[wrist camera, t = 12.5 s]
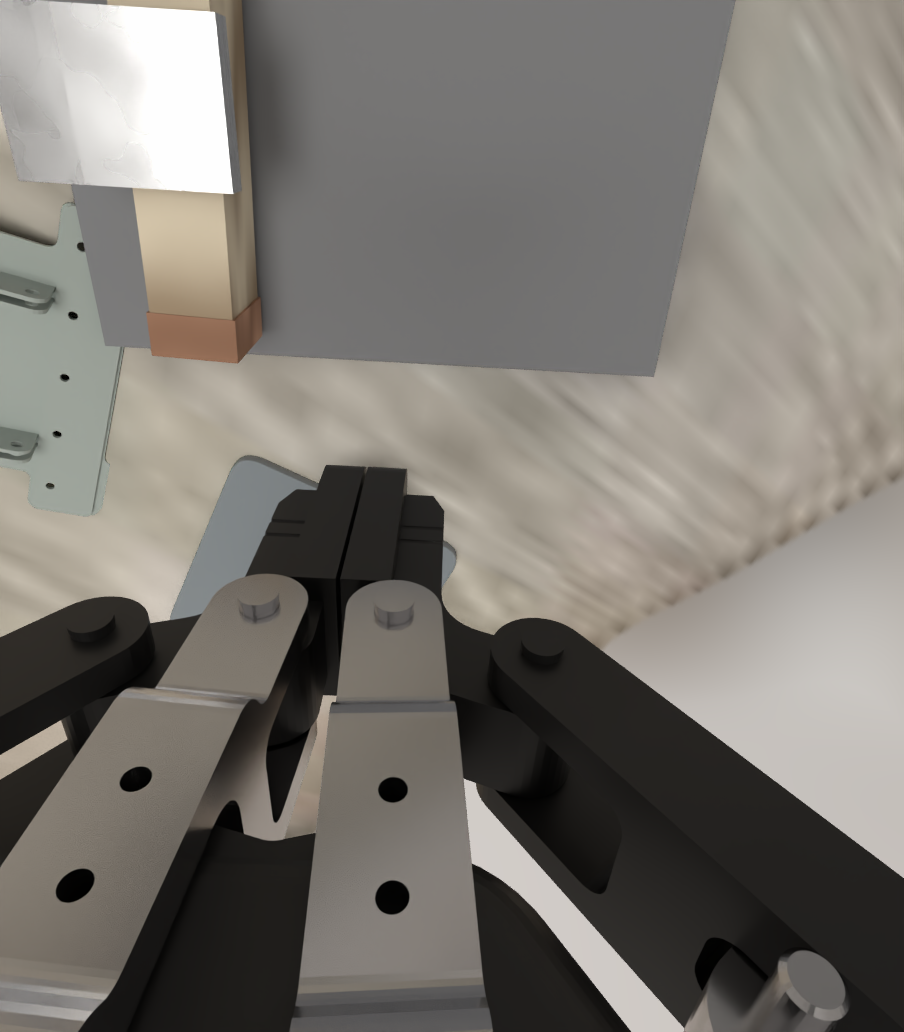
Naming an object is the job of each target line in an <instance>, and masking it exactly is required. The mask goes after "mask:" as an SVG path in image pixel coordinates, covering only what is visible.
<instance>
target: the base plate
mask: <svg viewBox="0 0 904 1032" xmlns="http://www.w3.org/2000/svg"><path fill="white" fill-rule="evenodd" d="M41 1H56V2H70V3H85V4H100V5H108V4H107V0H41ZM734 4H735V0H242V15H243V34H244V53H245V71H246V90H247V108H248V127H249V145H250V164H251V183H252V201H253V220H254V238H255V257H256V276H257V294H258V297H260V299H261V318H262V337H261V338H260V339H259V340H258V341H257V342H256V343H255V345H254V346H253V347H252V348H251V349H250V350H249V351H248V353H247V354H257V355H275V356H293V357H311V358H329V359H346V360H364V361H382V362H400V363H418V364H435V365H453V366H471V367H489V368H506V369H524V370H542V371H560V372H578V373H595V374H613V375H631V376H649V377H654V373H655V369H656V364H657V360H658V355H659V350H660V346H661V341H662V337H663V332H664V327H665V323H666V318H667V313H668V309H669V304H670V300H671V295H672V290H673V286H674V281H675V277H676V272H677V267H678V263H679V258H680V253H681V249H682V244H683V240H684V235H685V230H686V226H687V221H688V217H689V212H690V207H691V203H692V198H693V194H694V189H695V184H696V180H697V175H698V170H699V166H700V161H701V157H702V152H703V147H704V143H705V138H706V134H707V129H708V124H709V120H710V115H711V110H712V106H713V101H714V97H715V92H716V87H717V83H718V78H719V74H720V69H721V64H722V60H723V55H724V51H725V46H726V41H727V37H728V32H729V27H730V23H731V18H732V14H733V9H734ZM71 186H72V191H73V196H74V201H75V205H76V210H77V215H78V219H79V224H80V229H81V234H82V238H83V243H84V248H85V253H86V257H87V262H88V267H89V271H90V276H91V281H92V286H93V290H94V295H95V300H96V305H97V309H98V314H99V319H100V323H101V328H102V333H103V338H104V342H105V346H115V347H133V348H151V344H150V337H149V330H148V323H147V315H146V312H148V311H149V306H148V298H147V291H146V284H145V276H144V269H143V261H142V254H141V247H140V239H139V232H138V225H137V217H136V210H135V203H134V195H133V188H128V187H112V186H96V185H79V184H71Z"/></svg>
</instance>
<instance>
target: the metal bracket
mask: <svg viewBox="0 0 904 1032" xmlns="http://www.w3.org/2000/svg"><path fill="white" fill-rule="evenodd" d="M79 242H83V238H82V234H81V229H80V224H79V219H78V215H77V210H76V205H75V203H70V202H68V203H66V204H64V205H63V207H62V209H61V215H60V223H59V232H58V241H57V243H56V244H55V245H53V246H50V245H45V244H41V243H38V242H35V241H32V240H29V239H25V238H22V237H19V236H16V235H12V234H9V233H6V232H3V231H0V467H4V468H10V469H15V470H21V471H24V472H27V473H28V474H29V476H30V484H29V492H28V502H29V503H30V504H31V505H32V506H33V507H34V508H36V509H41V510H48V511H54V512H60V513H66V514H72V515H78V516H90V515H95V514H96V513H97V512H98V511H99V510H100V509H101V508H102V505H103V499H104V494H105V489H106V483H107V478H108V472H109V467H110V464H109V463H107V461H106V460H105V452H106V446H107V440H108V435H109V429H110V423H111V418H112V412H113V406H114V401H115V395H116V389H117V384H118V378H119V372H120V367H121V361H122V355H123V350H124V347H115V346H105V342H104V338H103V333H102V328H101V323H100V319H99V314H98V309H97V305H96V300H95V295H94V290H93V286H92V281H91V276H90V271H89V267H88V262H87V257H86V253H85V251H82V250H80V249H79V248H78V243H79ZM71 311H73V312H75V313H77V315H78V318H76V319H73V318H71V317H70V316H69V312H71ZM62 374H66V375H68V376H69V380H64V379H62V378H61V375H62ZM54 431H59V432H60V433H61V434H62V435H61V436H56V435H54V433H53V432H54ZM47 483H52V484H54V487H48V486H47Z"/></svg>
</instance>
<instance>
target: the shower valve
mask: <svg viewBox="0 0 904 1032" xmlns="http://www.w3.org/2000/svg"><path fill="white" fill-rule="evenodd" d="M318 485H319V484H318V483H316V482H314V481H311V480H309V479H307V478H305V477H303V476H300V475H298V474H296V473H294V472H292V471H289V470H287V469H285V468H283V467H281V466H279V465H276V464H274V463H272V462H270V461H268V460H265V459H263V458H260V457H257V456H244V457H242V458H240V459H239V460H238V461H237V462H236V463H235V464H234V466H233V467H232V469H231V471H230V473H229V475H228V478H227V480H226V483H225V485H224V487H223V490H222V492H221V495H220V497H219V499H218V502H217V504H216V507H215V509H214V512H213V514H212V516H211V519H210V521H209V524H208V526H207V528H206V531H205V533H204V536H203V538H202V540H201V543H200V545H199V548H198V550H197V552H196V555H195V557H194V560H193V562H192V564H191V567H190V569H189V572H188V574H187V577H186V579H185V581H184V584H183V586H182V589H181V591H180V593H179V596H178V598H177V601H176V603H175V605H174V608H173V610H172V613H171V616H170V620H174V619H180V618H186V617H191V616H195V615H199V614H202V613H203V611H204V610H205V608H206V607H207V605H208V603H209V602H210V600H211V599H212V597H213V596H214V595H215V593H216V592H217V591H218V590H219V589H221V588H222V587H223V586H225V585H226V584H228V583H230V582H232V581H234V580H237V579H239V578H242V577H245V576H246V574H247V571H248V569H249V567H250V565H251V562H252V560H253V558H254V556H255V554H256V551H257V549H258V547H259V545H260V543H261V540H262V538H263V536H265V532H266V529H267V527H268V525H269V523H270V522H271V518H272V516H273V514H274V512H275V510H276V507H277V505H278V503H279V502H280V501H281V500H283V499H284V498H285V497H287V496H288V495H289V494H291V493H292V492H293V491H295V490H296V489H303V490H317V488H318ZM455 564H456V552H455V550H454V548H453V547H452V546H451V545H450V544H448V543H447V542H445V541H443V561H442V586H443V585H444V583H445V582H446V580H447V579H448V577H449V576H450V574H451V573H452V571H453V570H454V567H455Z"/></svg>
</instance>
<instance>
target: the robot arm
mask: <svg viewBox="0 0 904 1032" xmlns="http://www.w3.org/2000/svg"><path fill="white" fill-rule="evenodd" d="M443 529H444V510H443V509H442V507H441V506H440V505H439V503H438V502H437V501H436V499H435V498H434V496H422V495H407V469H398V468H379V467H368V469H367V471H366V467H358V466H339V465H326V466H325V469H324V471H323V474H322V477H321V479H320V482H319V485H318V488H317V490H303V489H296V490H295V491H293V492H292V493H291V494H289V495H288V496H287V497H285V498H284V499H283V500H281V501H280V502H279V503H278V505H277V507H276V510H275V512H274V514H273V516H272V518H271V522H270V523H269V525H268V527H267V529H266V532H265V536H263V538H262V540H261V543H260V545H259V547H258V549H257V551H256V554H255V556H254V558H253V560H252V562H251V565H250V567H249V569H248V571H247V574H246V576H245V577H242V578H239V579H237V580H234V581H232V582H230V583H228V584H226V585H225V586H223V587H222V588H221V589H219V590H218V591H217V592H216V593H215V595H214V596H213V597H212V599H211V600H210V602H209V603H208V605H207V607H206V608H205V610H204V611H203V613H202V614H199V615H195V616H191V617H186V618H180V619H174V620H168V621H162V622H156V623H150V621H149V617H148V613H147V611H146V609H145V608H144V607H143V606H142V605H141V604H140V603H138V602H136V601H134V600H131V599H128V598H123V597H99V598H93V599H88V600H84V601H81V602H78V603H75V604H72V605H70V606H67V607H65V608H63V609H61V610H59V611H57V612H54V613H52V614H50V615H48V616H46V617H44V618H41V619H39V620H37V621H35V622H33V623H31V624H28V625H26V626H24V627H22V628H20V629H18V630H16V631H13V632H11V633H9V634H7V635H5V636H3V637H0V755H1V754H2V753H4V752H6V751H8V750H9V749H11V748H13V747H15V746H16V745H18V744H20V743H22V742H23V741H25V740H27V739H29V738H30V737H32V736H34V735H36V734H37V733H39V732H41V731H43V730H44V729H46V728H48V727H50V726H51V725H53V724H55V723H57V722H58V721H60V720H61V721H62V724H63V727H64V730H65V733H66V736H67V739H68V740H66V741H64V742H63V743H61V744H59V745H58V746H56V747H54V748H53V749H51V750H49V751H48V752H46V753H44V754H43V755H41V756H39V757H38V758H36V759H34V760H33V761H31V762H29V763H28V764H26V765H24V766H23V767H21V768H19V769H18V770H16V771H14V772H12V773H11V774H9V775H7V776H6V777H4V778H2V779H1V780H0V1032H631V1031H630V1030H629V1028H628V1027H627V1026H626V1025H625V1023H624V1022H623V1021H622V1020H621V1018H620V1017H619V1016H618V1015H617V1013H616V1012H615V1011H614V1009H613V1008H612V1007H611V1005H610V1004H609V1003H608V1002H607V1000H606V999H605V998H604V997H603V995H602V994H601V993H600V991H599V990H598V989H597V988H596V986H595V985H594V984H593V983H592V981H591V980H590V979H589V977H588V976H587V975H586V974H585V972H584V971H583V970H582V969H581V967H580V966H579V965H578V963H577V962H576V961H575V960H574V958H573V957H572V956H571V955H570V953H569V952H568V951H567V950H566V948H565V947H564V946H563V944H562V943H561V942H560V940H559V939H558V938H557V937H556V935H555V934H554V933H553V932H552V930H551V929H550V928H549V926H548V925H547V924H546V923H545V921H544V920H543V919H542V918H541V917H540V915H539V914H538V913H537V912H536V911H535V909H533V907H532V906H531V905H529V904H528V903H527V902H526V901H525V900H524V899H523V898H522V897H521V896H520V895H519V894H518V893H517V892H516V891H515V890H513V889H512V888H511V887H509V886H508V885H507V884H506V883H504V882H503V881H502V880H500V879H499V878H497V877H495V876H494V875H492V874H490V873H489V872H487V871H485V870H484V869H482V868H480V867H478V866H476V865H474V864H472V862H471V851H470V841H469V832H468V820H467V810H466V801H465V790H464V779H466V780H469V781H472V782H475V783H476V787H477V791H478V794H479V796H480V798H481V800H482V801H483V802H484V804H485V805H486V806H487V807H488V809H489V810H490V811H491V812H492V813H493V814H494V815H495V816H496V818H497V819H498V820H499V821H500V822H501V823H502V824H503V825H504V827H505V828H506V829H507V830H508V831H509V832H510V833H511V834H512V835H513V836H514V838H515V839H516V840H517V841H518V842H519V843H520V844H521V846H522V847H523V848H524V849H525V850H526V851H527V852H528V853H529V855H530V856H531V857H532V858H533V859H534V860H535V861H536V862H537V864H538V865H539V866H540V867H541V868H542V869H543V870H544V871H545V872H546V874H547V875H548V876H549V877H550V878H551V879H552V880H553V881H554V883H555V884H556V885H557V886H558V887H559V888H560V889H561V890H562V892H563V893H564V894H565V895H566V896H567V897H568V898H569V899H570V901H571V902H572V903H573V904H574V905H575V906H576V907H577V908H578V909H579V911H580V912H581V913H582V914H583V915H584V916H585V917H586V918H587V920H588V921H589V922H590V923H591V924H592V925H593V926H594V927H595V929H596V930H597V931H598V932H599V933H600V934H601V935H602V936H603V938H604V939H605V940H606V941H607V942H608V943H609V944H610V945H611V946H612V947H613V949H614V950H615V951H616V952H617V953H618V954H619V955H620V957H621V958H622V959H623V960H624V961H625V962H626V963H627V964H628V965H629V967H630V968H631V969H632V970H633V971H634V972H635V973H636V974H637V976H638V977H639V978H640V979H641V980H642V981H643V982H644V983H645V985H646V986H647V987H648V988H649V989H650V990H651V991H652V992H653V994H654V995H655V996H656V997H657V998H658V999H659V1000H660V1001H661V1002H662V1004H663V1005H664V1006H665V1007H666V1008H667V1009H668V1010H669V1012H670V1013H671V1014H672V1015H673V1016H674V1017H675V1018H676V1019H677V1020H678V1022H679V1023H680V1024H681V1025H682V1026H683V1027H684V1032H904V878H903V877H901V876H900V875H899V874H897V873H896V872H895V871H893V870H892V869H891V868H889V867H888V866H887V865H885V864H884V863H883V862H882V861H880V860H879V859H877V858H876V857H875V856H874V855H872V854H871V853H870V852H868V851H867V850H865V849H864V848H863V847H862V846H860V845H859V844H858V843H856V842H855V841H854V840H852V839H851V838H850V837H848V836H847V835H846V834H844V833H843V832H842V831H840V830H839V829H838V828H836V827H835V826H834V825H832V824H831V823H830V822H828V821H827V820H826V819H824V818H823V817H822V816H820V815H819V814H818V813H816V812H815V811H814V810H812V809H811V808H810V807H808V806H807V805H806V804H804V803H803V802H802V801H801V800H799V799H798V798H796V797H795V796H794V795H793V794H791V793H790V792H789V791H787V790H786V789H785V788H783V787H782V786H781V785H779V784H778V783H777V782H775V781H774V780H773V779H771V778H770V777H769V776H767V775H766V774H765V773H763V772H762V771H761V770H759V769H758V768H757V767H755V766H754V765H753V764H751V763H750V762H749V761H747V760H746V759H745V758H743V757H742V756H741V755H739V754H738V753H737V752H735V751H734V750H733V749H731V748H730V747H729V746H727V745H726V744H725V743H723V742H722V741H721V740H720V739H718V738H717V737H716V736H714V735H713V734H711V733H710V732H709V731H708V730H706V729H705V728H704V727H702V726H701V725H700V724H698V723H697V722H695V721H694V720H693V719H692V718H690V717H689V716H687V715H686V714H685V713H684V712H682V711H681V710H680V709H678V708H677V707H676V706H674V705H673V704H672V703H670V702H669V701H668V700H666V699H665V698H664V697H662V696H661V695H660V694H658V693H657V692H656V691H654V690H653V689H652V688H650V687H649V686H648V685H646V684H645V683H644V682H643V681H641V680H640V679H638V678H637V677H636V676H635V675H633V674H632V673H631V672H629V671H628V670H626V669H625V668H624V667H623V666H621V665H620V664H619V663H617V662H616V661H615V660H613V659H612V658H611V657H609V656H608V655H607V654H605V653H604V652H603V651H601V650H600V649H599V648H597V647H596V646H595V645H593V644H592V643H591V642H589V641H588V640H587V639H585V638H584V637H583V636H581V635H580V634H579V633H577V632H576V631H575V630H573V629H571V628H570V627H568V626H566V625H564V624H561V623H559V622H556V621H552V620H548V619H541V618H525V619H519V620H515V621H512V622H510V623H507V624H506V625H504V626H502V627H501V628H500V629H499V630H498V631H497V632H496V633H495V635H491V634H488V633H484V632H481V631H478V630H475V629H472V628H470V627H468V626H465V625H463V624H462V623H460V622H459V621H457V620H456V619H455V618H454V617H452V616H451V615H450V614H449V612H448V611H447V610H446V608H445V606H444V604H443V601H442V595H441V593H442V561H443ZM323 695H334V696H337V698H336V702H332V703H331V707H330V712H329V720H328V729H327V738H326V747H325V756H324V765H323V773H322V782H321V791H320V800H319V809H318V818H317V827H316V833H313V834H308V835H303V836H298V837H293V838H288V839H284V837H285V834H286V831H287V828H288V824H289V821H290V818H291V815H292V812H293V809H294V806H295V803H296V799H297V796H298V793H299V790H300V787H301V784H302V781H303V777H304V774H305V771H306V768H307V765H308V762H309V759H310V756H311V752H312V749H313V746H314V743H315V740H316V736H317V717H318V714H319V710H320V706H321V702H322V697H323ZM463 778H464V779H463Z"/></svg>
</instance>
